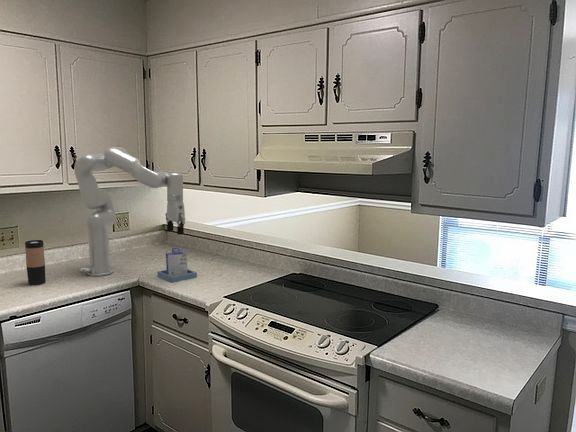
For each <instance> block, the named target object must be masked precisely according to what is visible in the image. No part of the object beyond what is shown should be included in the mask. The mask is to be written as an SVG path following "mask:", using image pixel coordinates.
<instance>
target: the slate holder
mask: <svg viewBox="0 0 576 432" xmlns="http://www.w3.org/2000/svg"><path fill="white" fill-rule="evenodd" d="M187 271H188V274H183V275H178V276H174V277H172V276H169V275H167V270H166V269H164V270H162V269H161V270H158V271H157V272H156V273H157V275H156V277H158V278H160V279H162V280H165V281H167V282H170V283H177V282H181V280H182V281H186V280H191V279H193V278H194V279H195V278H197V277H198V275H197V273H198V272H197V271H195V270H192V269H189V268H187Z"/></svg>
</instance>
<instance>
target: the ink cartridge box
mask: <svg viewBox="0 0 576 432" xmlns="http://www.w3.org/2000/svg"><path fill="white" fill-rule="evenodd" d="M165 266H166V267H165V268H166V269H165V270H167V275H169V276H172V277H174V276H178V275H183V274H188V271H187V269H188V253H187V252H186V251H184V250H183V251H180V247H172V248H171V252H166V253H165Z"/></svg>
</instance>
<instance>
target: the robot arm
mask: <svg viewBox="0 0 576 432" xmlns="http://www.w3.org/2000/svg"><path fill="white" fill-rule="evenodd" d="M114 167H115V168H117V169H119V170H121V171H123V172H125V173H127V174H129V175H130V176H131V177H132V178H134V179H135V180H136V181H137V182H139V183H141V184H143V185H145V186H147V187H149V188H152V189H159V188H163V187H166V192H167V193H166V201H167V203H166V213H165V214H164V215H165V220H166V231H167V232H174V222H175V223H176V224H177V227H176V234H177V235H178V236H179V235H184V232H185V231H184V230H185V229H184V228H185V224H186V220H187V219H186V214H185V213H186V211H185V204H184V175H183V173H181V172H168V171H164V170H163V171H152V170H151V169H148V168H147V167H145V166H143V164H141V160H140V159H139V158H138V157H135V156H133V155H131V154H129V152H128V150H127V149H125V148H124V147H120V146H112V147H111V146H110V147H108V148H106V149H105V150H104V152H102V153H90V154H89V153H88V154H85V155H82V156H80V157H79V158H78V159H77V160H76V162H75V163H74V168H73V170H74V175H75V178H76V181H77V184H78V189H79V192H80V195H81V196H80V197H81V200H82V203H83V205H84V207H85V208H86V209H88V210H95V211H93V212H91V213H89V214H88V215H87V216H86V218H85V226H86V231H87V239H88V254H89V255H88V257H89V264H87V266H86V267H80V268H79V272H81V273H82V272H84V273H86V275H87V276H90V277H104V276H109V275H111V274H113V273H114V271H115V270H114V268H112V267H111V260H110V259H111V257H110V255H111V253H110V238H109V234H108V230H107V229H108V228H110V227H112V226H114V224H115V223H116V221H117V216H116V215H117V214H116V211H115V207H114V203H113V200H112V197H111V195H110V193H109V192H108V191H107V190H105V189H103V188H99V186H98V181H97V179H96V177H95V175H94V174H93V172H99V171H100V172H101V171H105V170H109V169H111V168H114Z"/></svg>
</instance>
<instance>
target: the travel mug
mask: <svg viewBox="0 0 576 432" xmlns="http://www.w3.org/2000/svg"><path fill="white" fill-rule="evenodd" d="M44 245H45V244H44V240H42V239H41V240H40V239H34V240H33V239H32V240H27V241H25V242H24V247H25V250H24V251H25V264H26V273H27V281H28V282H27V283H28V285H29V286H41V285H43V284H46V261H45V249H44V248H45V246H44Z"/></svg>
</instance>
